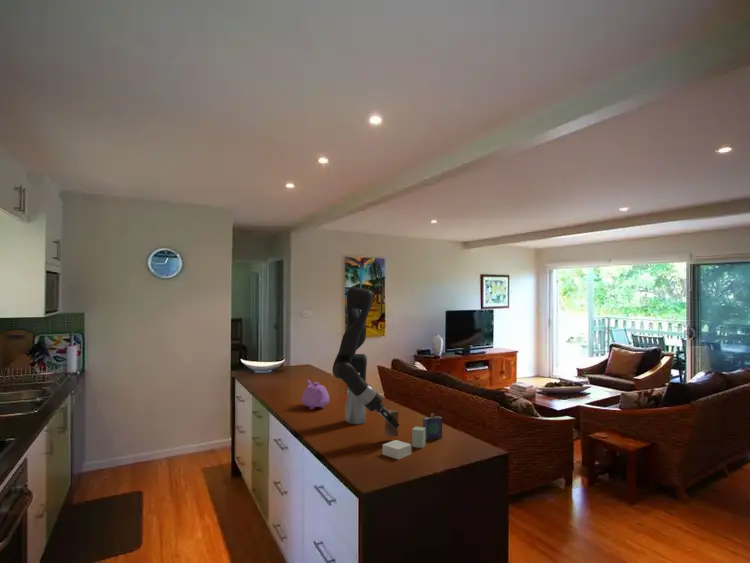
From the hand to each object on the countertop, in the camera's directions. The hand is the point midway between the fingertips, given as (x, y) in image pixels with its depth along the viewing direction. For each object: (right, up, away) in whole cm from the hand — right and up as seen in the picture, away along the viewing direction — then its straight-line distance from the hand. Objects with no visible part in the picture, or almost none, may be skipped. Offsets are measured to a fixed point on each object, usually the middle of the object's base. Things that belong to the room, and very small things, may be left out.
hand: (395, 424), depth 180 cm
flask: (+16, -7, +3) cm, 18 cm away
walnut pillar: (-2, -4, -1) cm, 5 cm away
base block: (0, -6, -17) cm, 18 cm away
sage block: (+9, -7, -6) cm, 13 cm away
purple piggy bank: (-43, -10, +57) cm, 72 cm away
